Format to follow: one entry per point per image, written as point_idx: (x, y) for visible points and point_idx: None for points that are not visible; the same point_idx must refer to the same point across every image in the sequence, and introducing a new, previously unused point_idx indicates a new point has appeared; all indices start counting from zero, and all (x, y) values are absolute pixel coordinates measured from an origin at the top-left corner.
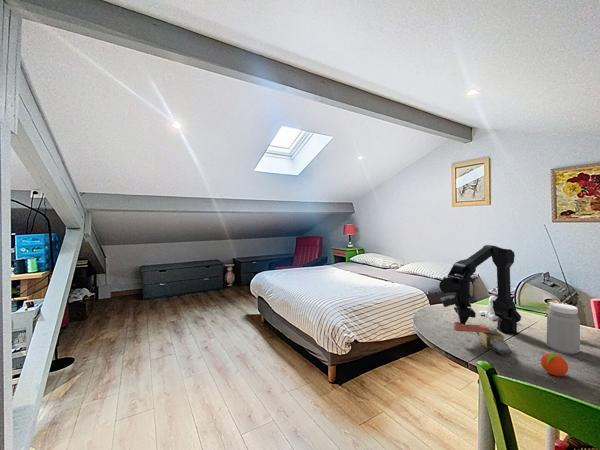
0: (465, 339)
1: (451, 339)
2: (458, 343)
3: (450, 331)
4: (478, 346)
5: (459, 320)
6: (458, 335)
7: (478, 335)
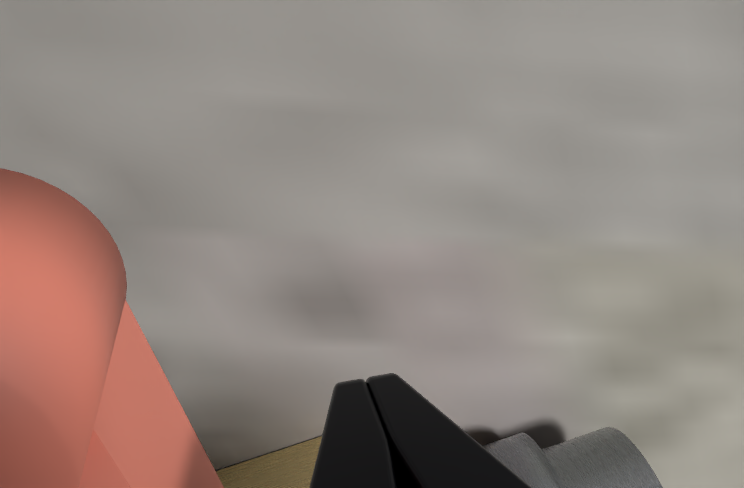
0: (363, 263)
1: (242, 15)
2: (88, 142)
3: (672, 31)
4: None
5: (477, 458)
6: (509, 164)
7: (487, 450)
